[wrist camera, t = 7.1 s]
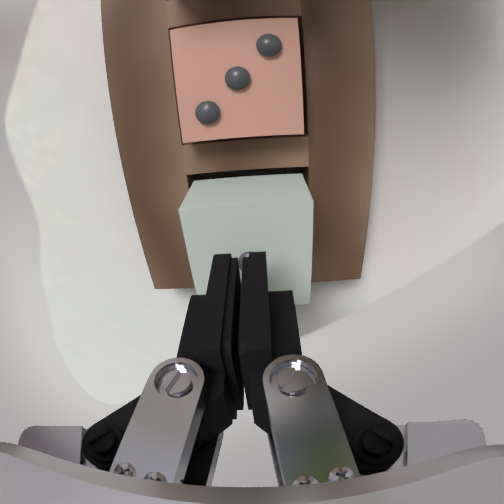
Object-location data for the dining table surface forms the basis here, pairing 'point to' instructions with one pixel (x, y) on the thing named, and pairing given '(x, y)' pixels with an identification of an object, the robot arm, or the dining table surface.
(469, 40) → the dining table surface
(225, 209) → the pale grey square block
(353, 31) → the tile board
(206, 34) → the pink three-dot die face
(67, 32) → the dining table surface
